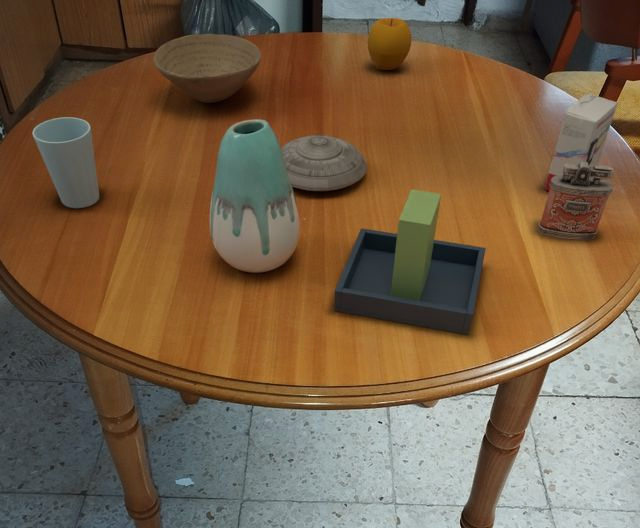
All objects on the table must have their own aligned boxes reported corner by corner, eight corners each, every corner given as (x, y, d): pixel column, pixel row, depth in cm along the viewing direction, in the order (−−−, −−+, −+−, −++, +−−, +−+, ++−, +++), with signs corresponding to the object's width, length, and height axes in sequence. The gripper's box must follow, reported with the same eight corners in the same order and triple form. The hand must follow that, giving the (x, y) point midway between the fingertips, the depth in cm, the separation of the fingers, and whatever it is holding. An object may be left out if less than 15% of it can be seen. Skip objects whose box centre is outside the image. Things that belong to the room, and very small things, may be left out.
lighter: (537, 235, 95) (557, 168, 87) (537, 222, 97) (555, 155, 90) (596, 241, 94) (621, 174, 87) (594, 228, 96) (618, 161, 89)
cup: (104, 182, 103) (87, 113, 96) (110, 208, 99) (92, 138, 91) (53, 189, 102) (31, 120, 94) (56, 216, 97) (33, 146, 89)
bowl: (223, 130, 115) (218, 81, 109) (139, 106, 121) (130, 58, 115) (281, 91, 126) (280, 45, 120) (201, 71, 132) (196, 25, 126)
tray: (481, 267, 90) (485, 247, 87) (468, 335, 81) (473, 314, 78) (359, 247, 92) (360, 228, 90) (334, 310, 83) (334, 290, 81)
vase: (197, 252, 91) (178, 119, 78) (268, 224, 96) (261, 94, 83) (244, 295, 85) (232, 159, 72) (317, 262, 90) (318, 129, 77)
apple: (387, 81, 130) (391, 30, 123) (356, 67, 134) (358, 18, 127) (417, 69, 134) (422, 19, 127) (386, 56, 138) (390, 8, 131)
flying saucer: (289, 145, 112) (288, 111, 108) (377, 159, 109) (379, 125, 105) (256, 189, 103) (254, 154, 98) (351, 206, 100) (353, 171, 95)
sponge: (429, 271, 88) (441, 193, 80) (418, 303, 84) (430, 225, 75) (402, 266, 89) (411, 189, 80) (390, 298, 84) (398, 219, 76)
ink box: (572, 200, 101) (597, 121, 93) (542, 189, 103) (563, 111, 94) (594, 177, 106) (620, 100, 97) (565, 167, 108) (587, 91, 99)
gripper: (627, -168, 80) (564, 35, 90) (422, -199, 83) (383, 0, 93) (638, -193, 73) (569, 29, 83) (415, -225, 77) (374, -8, 86)
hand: (471, 14), depth 88 cm, fingers open, 13 cm apart
